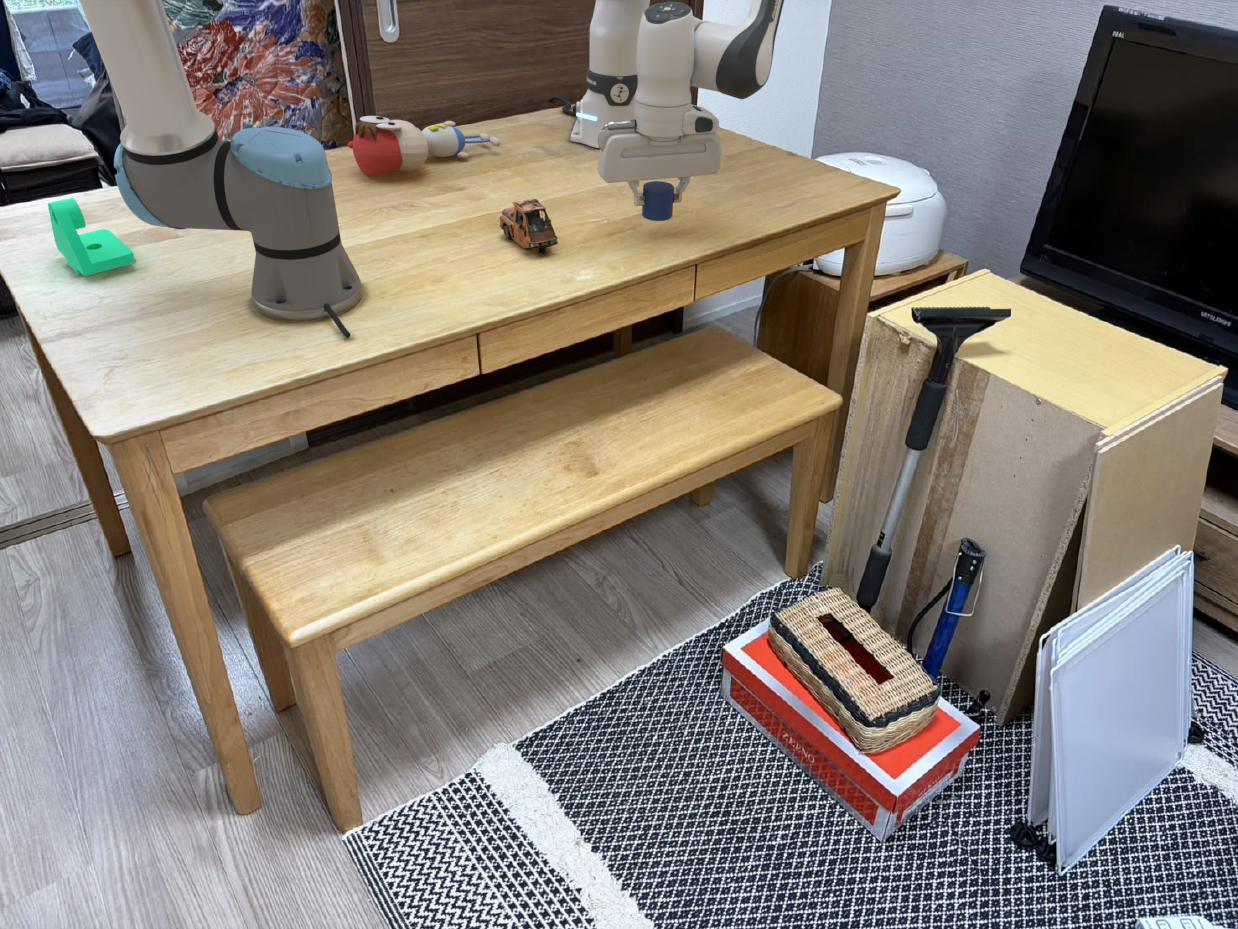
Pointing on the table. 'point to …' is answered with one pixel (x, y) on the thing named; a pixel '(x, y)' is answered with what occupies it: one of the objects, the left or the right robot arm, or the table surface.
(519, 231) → the toy car
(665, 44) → the right robot arm
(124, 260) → the camera mount
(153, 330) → the table surface
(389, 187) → the table surface
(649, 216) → the canister
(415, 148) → the toy
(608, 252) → the table surface
